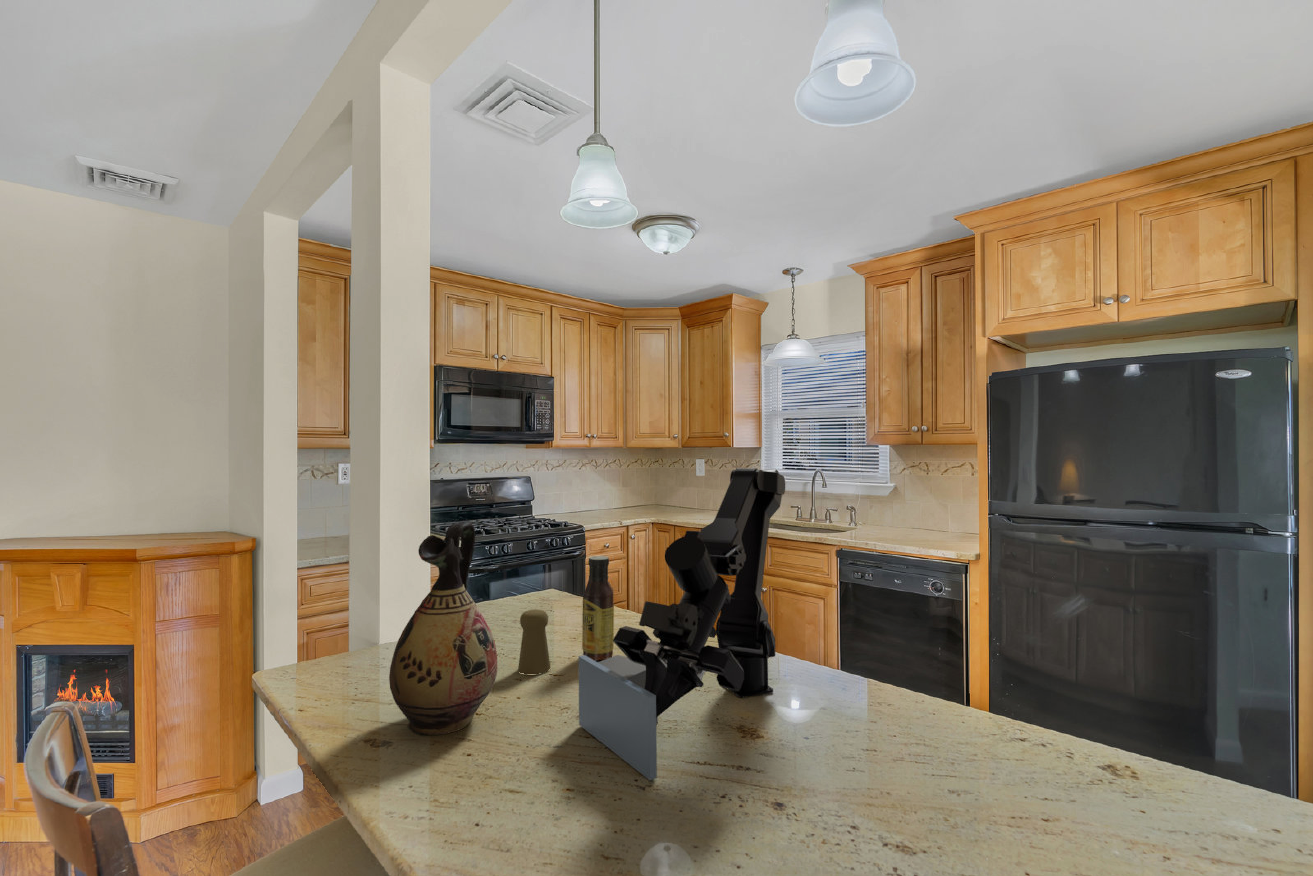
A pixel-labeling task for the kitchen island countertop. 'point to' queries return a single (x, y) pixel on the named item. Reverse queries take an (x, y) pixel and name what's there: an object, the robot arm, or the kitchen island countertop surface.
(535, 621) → the cork
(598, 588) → the sauce bottle
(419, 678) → the ceramic jug
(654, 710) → the side door
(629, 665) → the camera case
